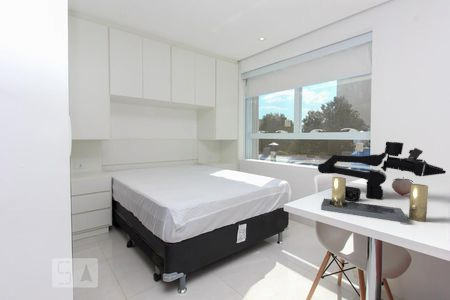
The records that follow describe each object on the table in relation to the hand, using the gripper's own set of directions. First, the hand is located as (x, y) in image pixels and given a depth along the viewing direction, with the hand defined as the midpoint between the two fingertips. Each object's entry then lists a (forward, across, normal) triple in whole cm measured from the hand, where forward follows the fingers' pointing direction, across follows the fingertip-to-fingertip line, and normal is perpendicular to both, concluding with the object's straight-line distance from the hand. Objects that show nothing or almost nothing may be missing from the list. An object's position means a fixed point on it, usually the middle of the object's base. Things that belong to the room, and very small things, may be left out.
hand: (444, 171), depth 97 cm
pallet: (-24, -32, +19) cm, 44 cm away
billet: (-32, -33, +20) cm, 50 cm away
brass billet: (-7, -26, +17) cm, 32 cm away
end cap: (-33, -14, +21) cm, 41 cm away
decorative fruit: (-12, +15, +18) cm, 26 cm away
